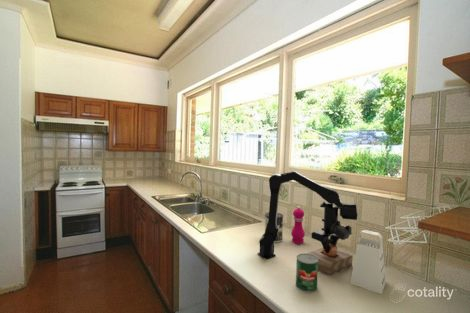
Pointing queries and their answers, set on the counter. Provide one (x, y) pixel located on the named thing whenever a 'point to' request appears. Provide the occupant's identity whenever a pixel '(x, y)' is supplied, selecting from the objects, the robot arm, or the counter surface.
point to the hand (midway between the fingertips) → (329, 251)
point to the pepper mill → (298, 226)
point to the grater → (369, 264)
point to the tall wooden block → (331, 251)
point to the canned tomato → (306, 272)
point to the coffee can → (279, 222)
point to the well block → (332, 261)
